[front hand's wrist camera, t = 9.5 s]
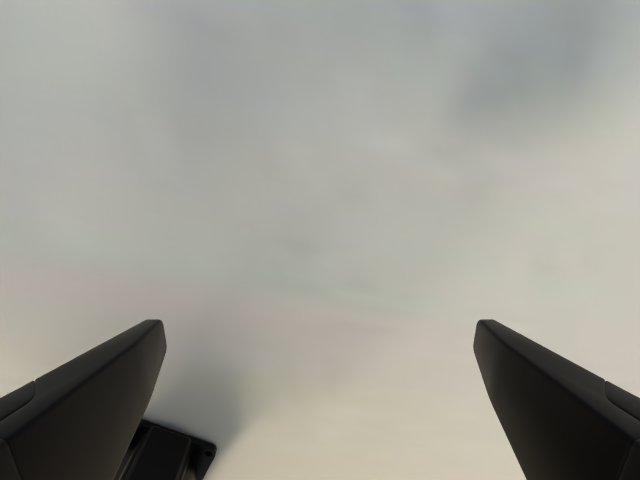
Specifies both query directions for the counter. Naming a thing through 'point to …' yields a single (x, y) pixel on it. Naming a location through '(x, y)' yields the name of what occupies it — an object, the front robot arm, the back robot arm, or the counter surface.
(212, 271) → the counter surface
